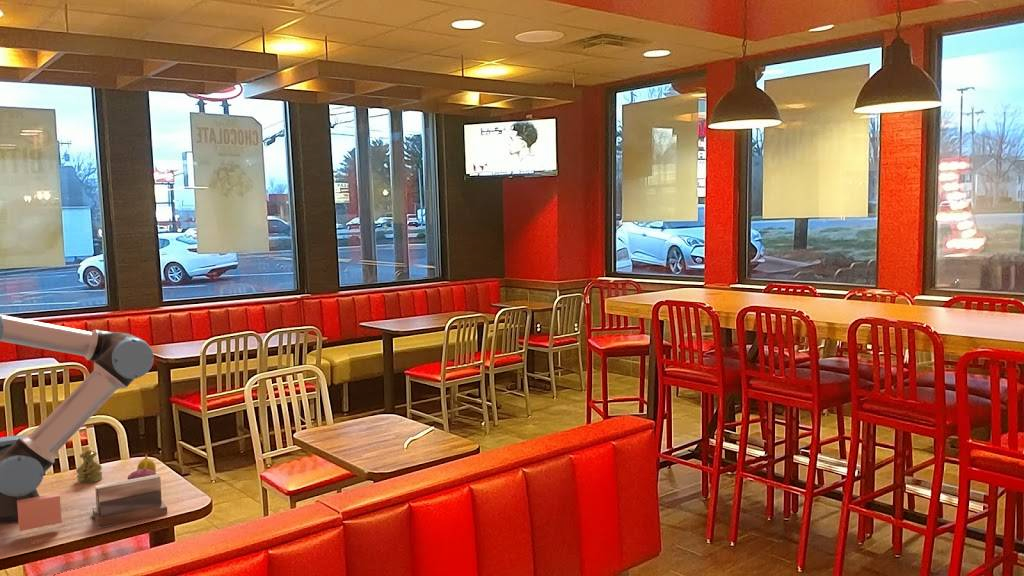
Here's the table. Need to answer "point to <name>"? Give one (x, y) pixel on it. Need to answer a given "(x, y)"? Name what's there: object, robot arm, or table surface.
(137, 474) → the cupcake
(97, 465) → the christmas tree figurine
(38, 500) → the stub
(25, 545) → the table surface
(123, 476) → the table surface
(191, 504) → the table surface
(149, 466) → the lemon
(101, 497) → the ticket holder
